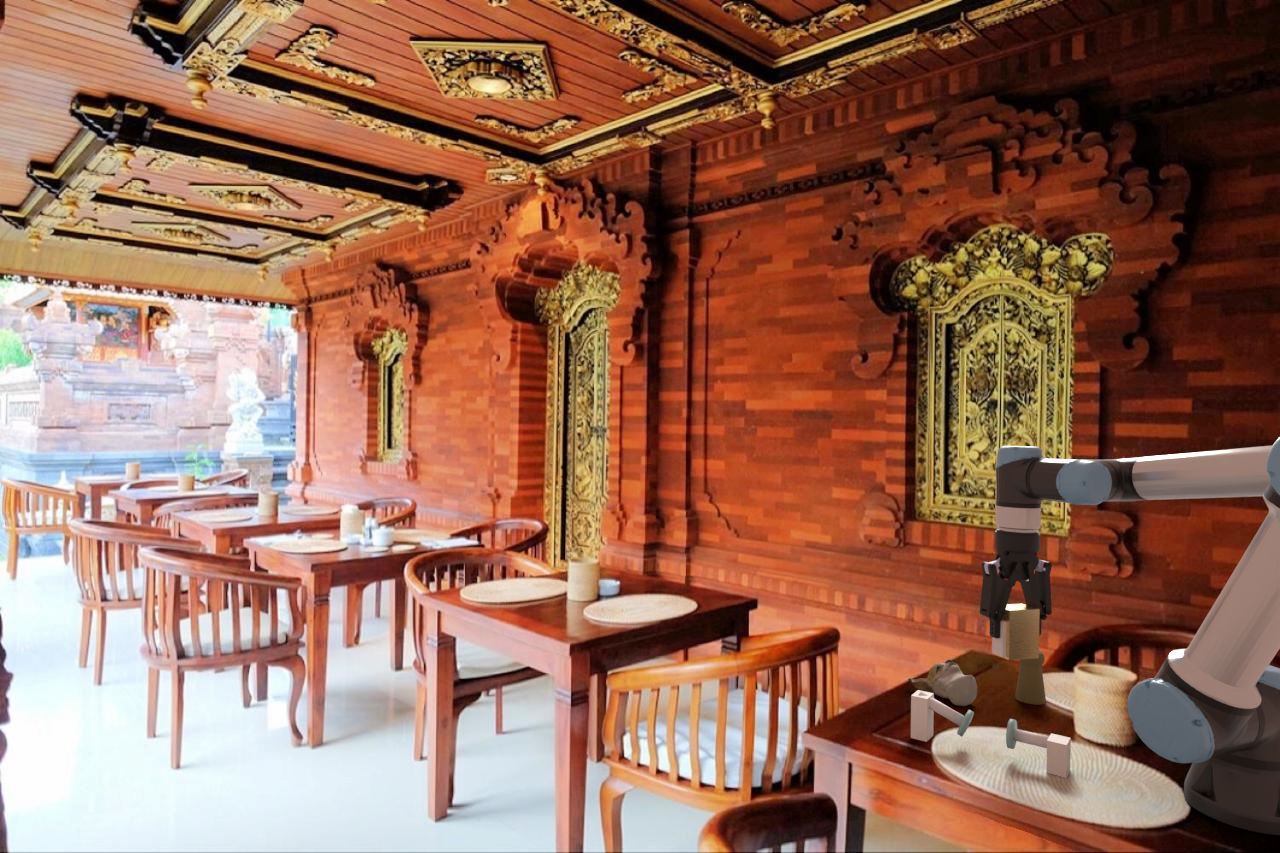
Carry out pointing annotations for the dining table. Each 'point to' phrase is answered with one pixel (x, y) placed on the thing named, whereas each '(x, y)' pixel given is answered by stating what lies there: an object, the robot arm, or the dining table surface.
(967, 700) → the ceramic sculpture
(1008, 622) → the tan rectangular block
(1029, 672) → the olive pepper shaker
